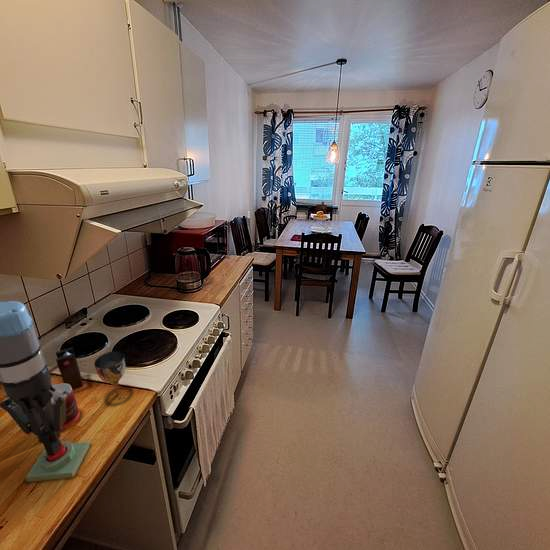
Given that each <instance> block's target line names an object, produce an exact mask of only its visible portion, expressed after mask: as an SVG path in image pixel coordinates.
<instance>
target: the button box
mask: <svg viewBox="0 0 550 550" xmlns="http://www.w3.org/2000/svg"><path fill="white" fill-rule="evenodd" d="M60 442H61V444H63V445H64V446H65V449H66V453H65V455H64V456H63V457H61V458H60V459H59V460H56V461H54V462H49V461H48V459H47V456H46V454H47V452H46V450H45V448H44V449H43V451H42V452H41V454H40V455H38V458H37V460H35V462H34V464H33V465H32V467H31V468H30V470H29V472H27V474H26V476H25V480H26V482H27V483H29V482H30V483H32V482H40V481H41V482H42V481H50V480H60V479H69V478H70V479H71V478H74V477H75V475H76V473H77V472H78V469H79V467H80V465H81V463H82V462H83V460H84V457H85V456H86V454H87V452H88V450H89V448H90V443H89V441H83V442H70V441H69V440H66V441H60Z"/></svg>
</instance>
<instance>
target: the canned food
mask: <svg viewBox="0 0 550 550" xmlns="http://www.w3.org/2000/svg"><path fill="white" fill-rule="evenodd" d="M52 386H53V387H54V388H55V390H56V392H59V393H63V392H64V391H67V392H68V393H69V395H68V396H67V398H66V422H65V423H64V425H63V426H62V428H61V429H60V431H61V430H64V429H66V428H68V427H69V426H71V425H73V424H74V423H75V422H76V421H77V420H78V419H79V417H80V414H81V413H80V409H79V406H78V403H77V400H76V397H75V393H74V390H72V388H71V386H70V385H69V384H66V383H64V382H62V383H56V384H52ZM51 400H52V402H51V405H52V408H53V410H54V405H55V404H53V402H54V401H53V398H51Z"/></svg>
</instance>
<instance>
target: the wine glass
mask: <svg viewBox="0 0 550 550" xmlns="http://www.w3.org/2000/svg"><path fill="white" fill-rule="evenodd" d="M93 363H94V364H93V365H94V368H95V372H96V374H97V376H98V377H99V379H100V380H101V381H102V382H105V383H107V384H111V385H112V386H113V387H114V389H115V390H114V391H115V393H116V396H120V395H121V393H120V389H119V382H120V381H121V380H122V378H123V376H124V375H125V373H126V369H127V364H126V363H127V361H126V357H125V354H124V353H123V352H122V351H116V350H115V351H109V352H106V353H103V354H102V355H99V356H98V357H97V358H96V359H95V360H94V362H93Z"/></svg>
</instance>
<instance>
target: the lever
mask: <svg viewBox="0 0 550 550" xmlns="http://www.w3.org/2000/svg"><path fill="white" fill-rule="evenodd" d="M67 355H70V353H69V352H65V353H64V354H63V355H62V356H60V357H63V356H67ZM60 357H59V358H60ZM57 369H59V367H58V364H57V362H56V363H54V364H53V365H52V366H51V367H50V368H48V370H49V373H50V374H51V373H53V372H55V370H57Z"/></svg>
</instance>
